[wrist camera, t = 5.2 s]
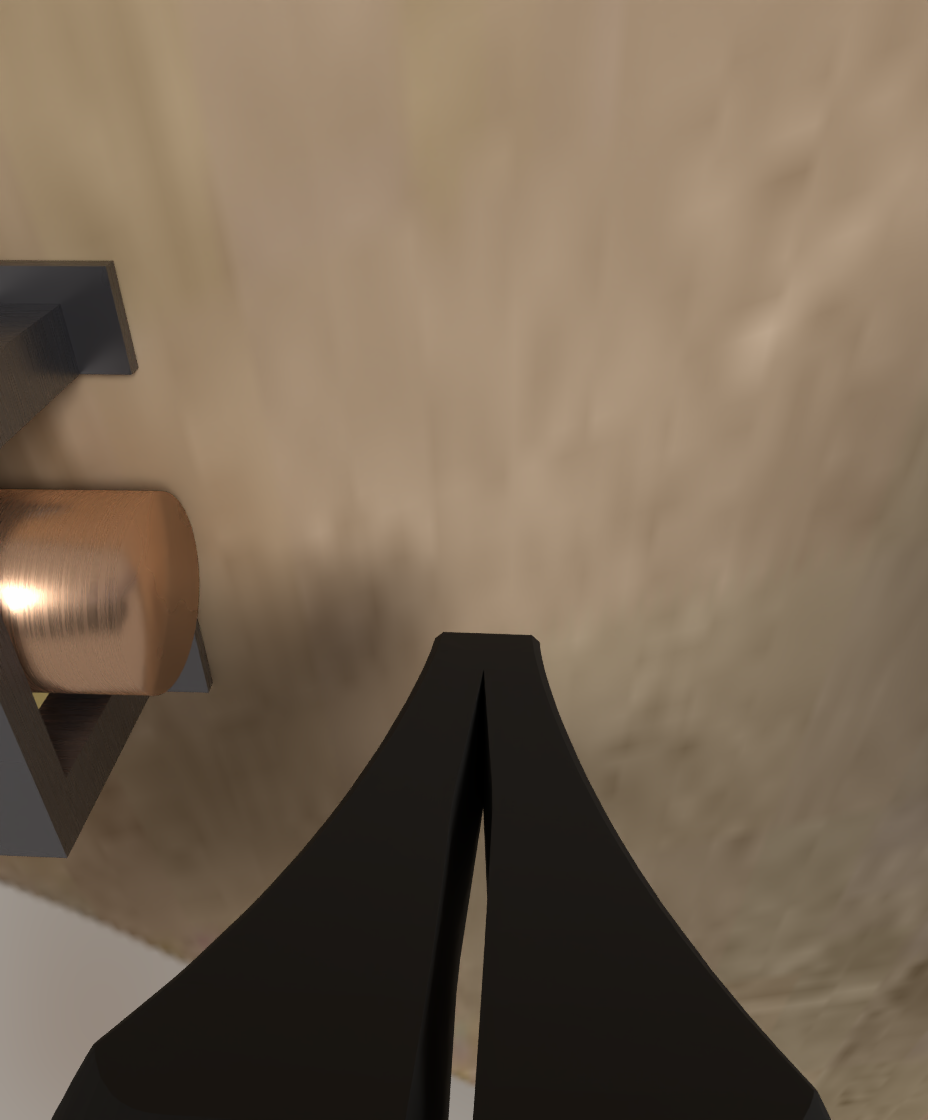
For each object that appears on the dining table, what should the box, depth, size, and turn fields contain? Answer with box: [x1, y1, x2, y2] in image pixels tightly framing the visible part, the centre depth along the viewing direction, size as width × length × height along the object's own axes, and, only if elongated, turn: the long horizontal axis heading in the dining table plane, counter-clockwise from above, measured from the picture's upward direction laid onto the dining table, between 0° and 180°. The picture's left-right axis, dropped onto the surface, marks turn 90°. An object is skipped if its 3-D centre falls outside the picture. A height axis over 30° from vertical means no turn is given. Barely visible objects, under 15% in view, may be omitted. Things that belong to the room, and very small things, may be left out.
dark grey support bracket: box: [0, 260, 213, 858], centre depth 14 cm, size 3×9×5 cm, turn 0°
